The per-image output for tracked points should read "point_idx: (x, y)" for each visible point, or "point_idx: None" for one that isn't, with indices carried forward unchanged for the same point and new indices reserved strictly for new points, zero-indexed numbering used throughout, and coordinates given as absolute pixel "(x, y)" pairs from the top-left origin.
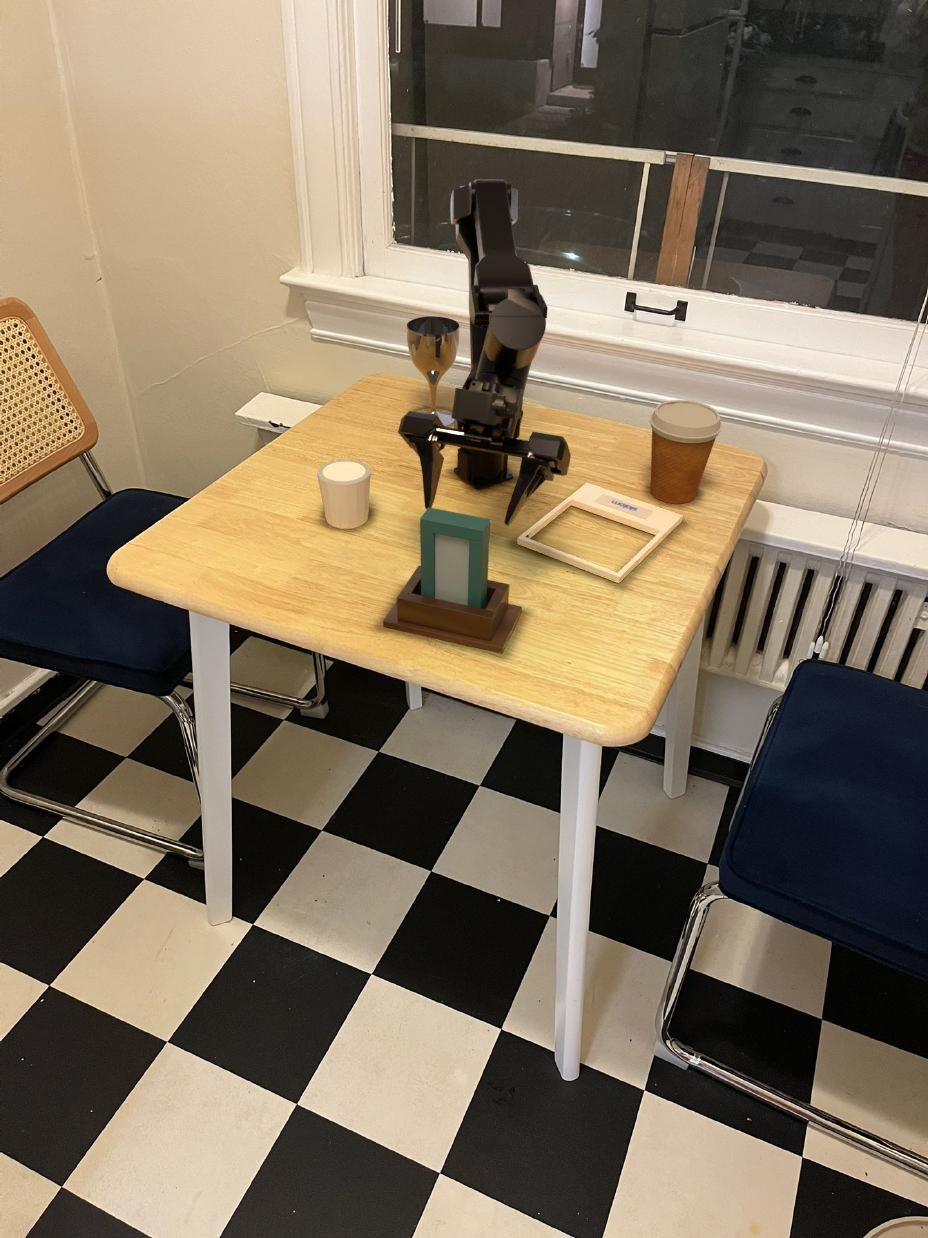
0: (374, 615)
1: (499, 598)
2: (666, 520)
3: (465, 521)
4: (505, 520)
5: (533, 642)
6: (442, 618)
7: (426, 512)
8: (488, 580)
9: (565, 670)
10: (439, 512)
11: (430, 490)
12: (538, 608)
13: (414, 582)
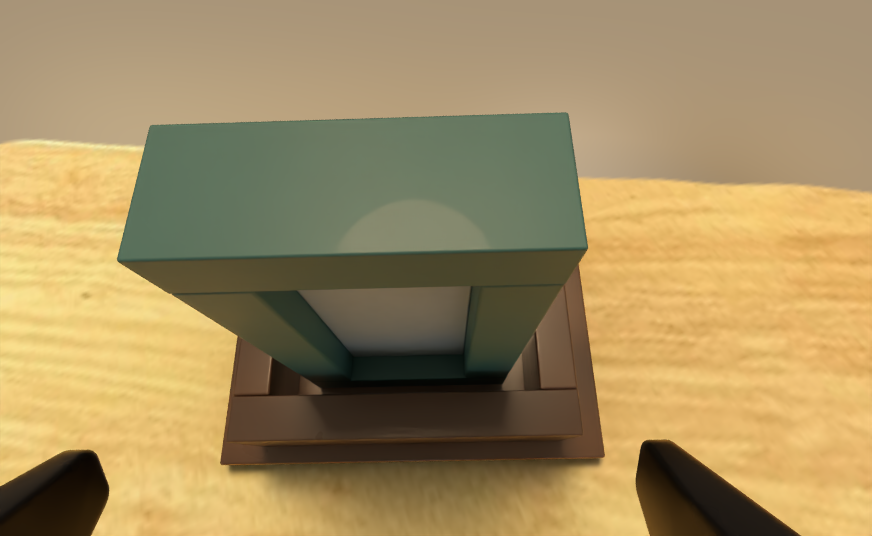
0: (619, 296)
1: (247, 346)
2: None
3: (278, 174)
4: (76, 454)
5: (180, 340)
6: None
7: (564, 182)
8: (305, 436)
9: (95, 266)
10: (483, 215)
11: (715, 521)
12: (179, 506)
13: (546, 328)
